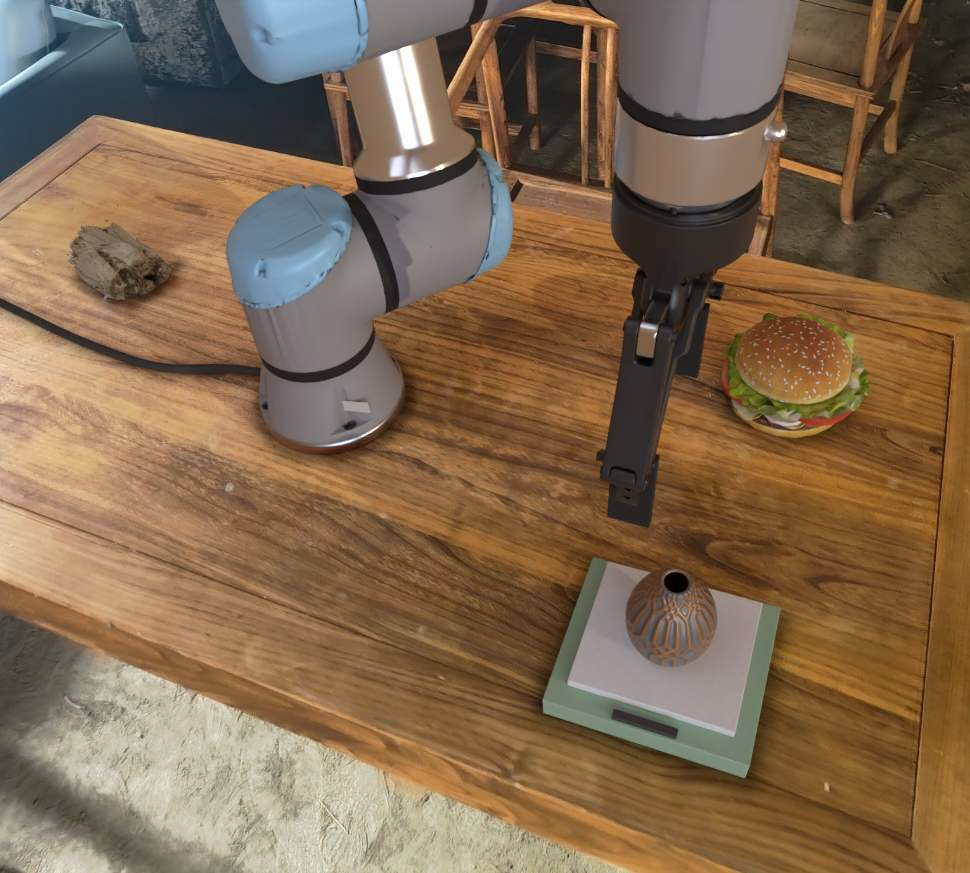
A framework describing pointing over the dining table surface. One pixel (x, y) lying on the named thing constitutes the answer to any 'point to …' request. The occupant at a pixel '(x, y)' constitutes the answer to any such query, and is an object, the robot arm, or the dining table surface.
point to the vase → (671, 617)
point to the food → (793, 375)
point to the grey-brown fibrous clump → (116, 262)
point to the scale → (664, 676)
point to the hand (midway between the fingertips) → (656, 440)
